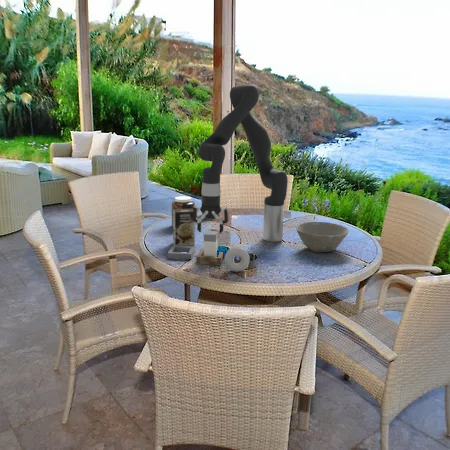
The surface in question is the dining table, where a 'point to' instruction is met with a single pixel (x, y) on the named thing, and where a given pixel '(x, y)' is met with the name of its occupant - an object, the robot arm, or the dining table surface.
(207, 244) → the plug block
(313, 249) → the ceramic bowl
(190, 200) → the jar
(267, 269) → the dining table surface
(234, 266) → the donut
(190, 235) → the coffee box
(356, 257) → the dining table surface
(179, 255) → the grey square frame
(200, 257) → the walnut socket
